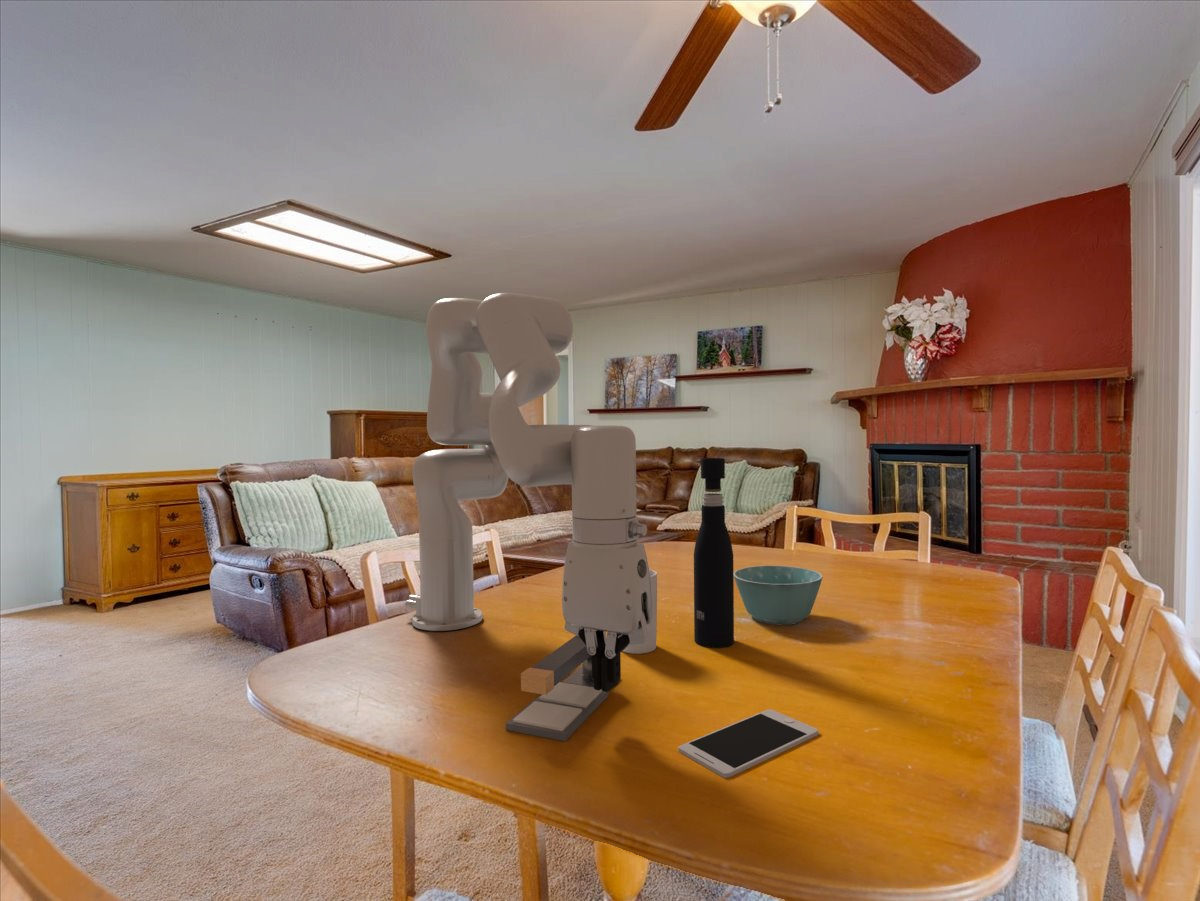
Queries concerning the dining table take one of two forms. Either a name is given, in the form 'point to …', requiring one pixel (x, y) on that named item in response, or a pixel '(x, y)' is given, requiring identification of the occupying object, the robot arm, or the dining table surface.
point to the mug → (652, 626)
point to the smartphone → (747, 742)
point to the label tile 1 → (547, 720)
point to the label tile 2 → (574, 696)
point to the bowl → (778, 592)
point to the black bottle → (713, 565)
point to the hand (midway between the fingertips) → (606, 686)
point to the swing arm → (554, 667)
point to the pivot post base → (582, 675)
